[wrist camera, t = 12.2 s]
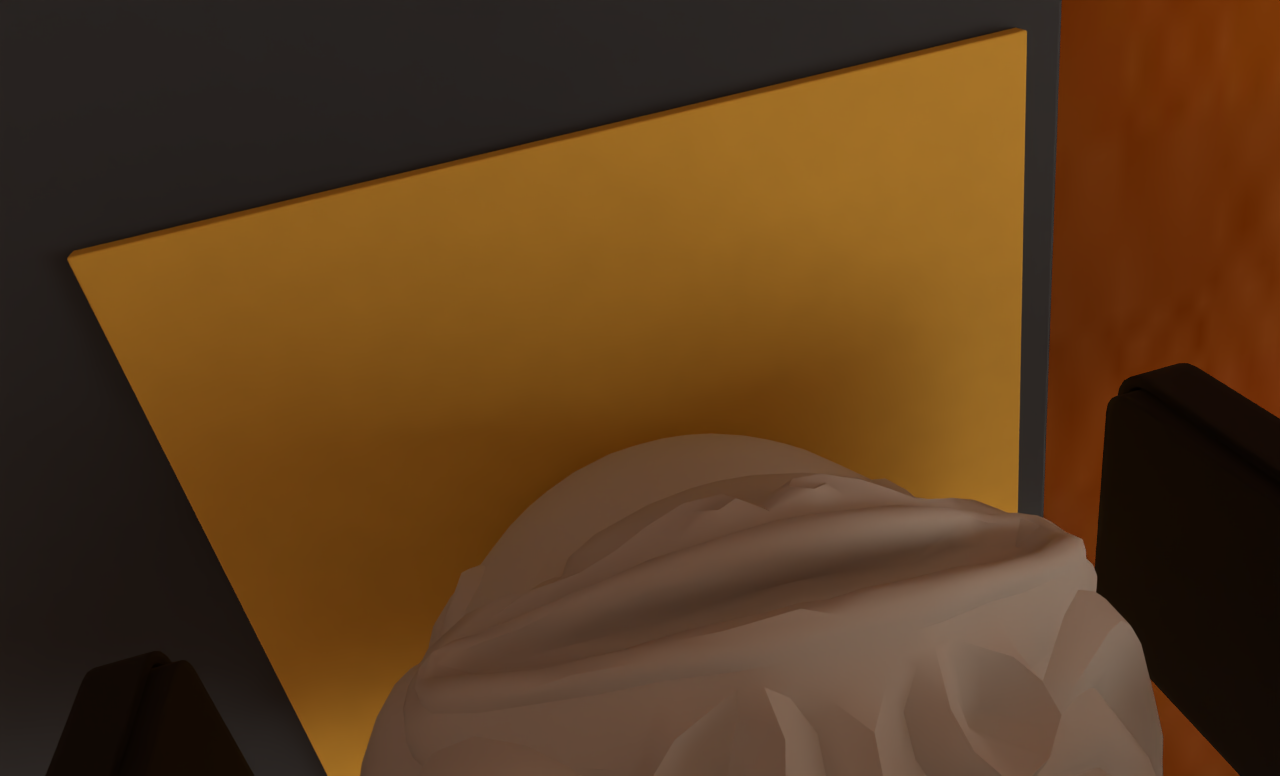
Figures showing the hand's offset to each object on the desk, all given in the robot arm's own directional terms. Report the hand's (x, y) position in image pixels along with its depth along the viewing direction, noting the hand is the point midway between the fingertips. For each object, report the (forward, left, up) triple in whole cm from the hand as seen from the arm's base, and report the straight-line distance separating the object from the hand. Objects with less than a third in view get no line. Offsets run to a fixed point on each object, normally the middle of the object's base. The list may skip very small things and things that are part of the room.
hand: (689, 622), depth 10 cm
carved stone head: (0, 0, -2) cm, 2 cm away
